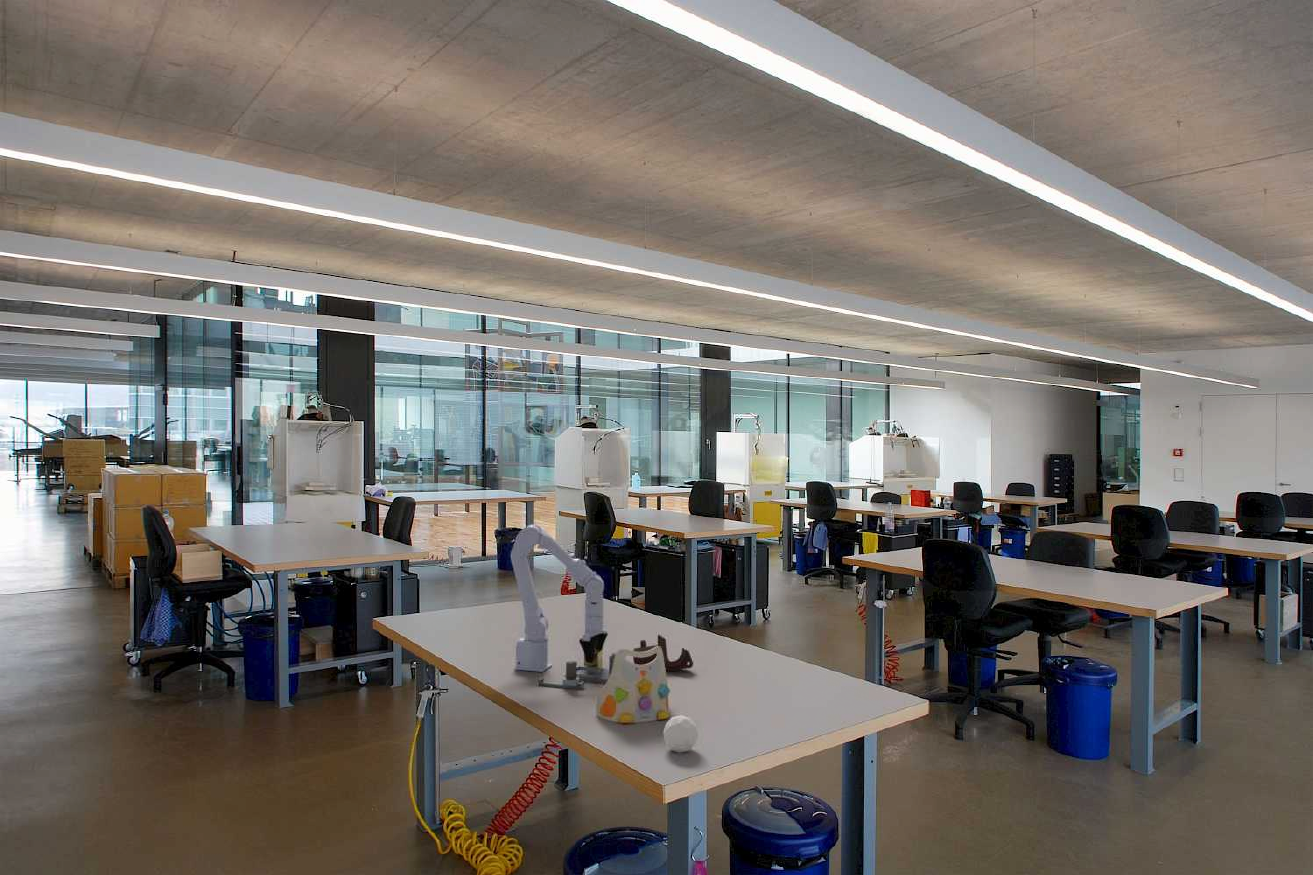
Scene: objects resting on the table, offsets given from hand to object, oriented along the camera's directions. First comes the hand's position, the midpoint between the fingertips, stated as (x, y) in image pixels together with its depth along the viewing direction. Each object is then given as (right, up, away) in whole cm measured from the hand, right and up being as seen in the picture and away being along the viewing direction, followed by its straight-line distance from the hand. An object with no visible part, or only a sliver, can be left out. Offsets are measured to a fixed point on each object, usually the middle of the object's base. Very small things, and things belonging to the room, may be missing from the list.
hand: (593, 659), depth 245 cm
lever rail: (-8, -2, -19) cm, 21 cm away
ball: (+25, -2, -66) cm, 71 cm away
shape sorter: (+15, -3, -44) cm, 46 cm away
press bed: (+1, -3, -10) cm, 10 cm away
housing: (0, -3, 0) cm, 3 cm away
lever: (-5, -2, -20) cm, 21 cm away
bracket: (+22, -4, +1) cm, 22 cm away
